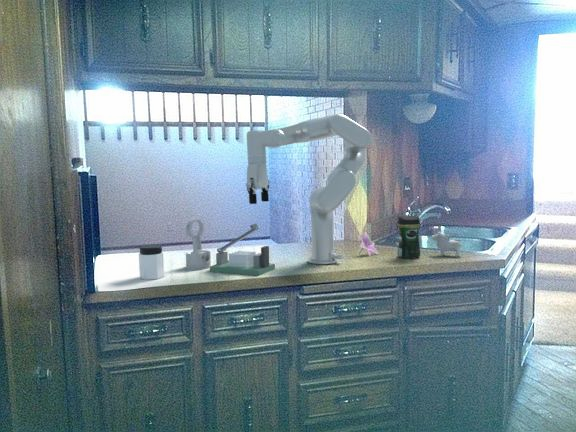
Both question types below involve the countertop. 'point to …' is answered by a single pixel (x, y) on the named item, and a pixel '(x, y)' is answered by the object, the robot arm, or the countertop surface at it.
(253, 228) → the thin grey bar
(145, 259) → the jar
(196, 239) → the engine component
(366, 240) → the lily
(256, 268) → the base
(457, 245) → the dog figurine
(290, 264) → the countertop surface
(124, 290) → the countertop surface
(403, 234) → the coffee jar
